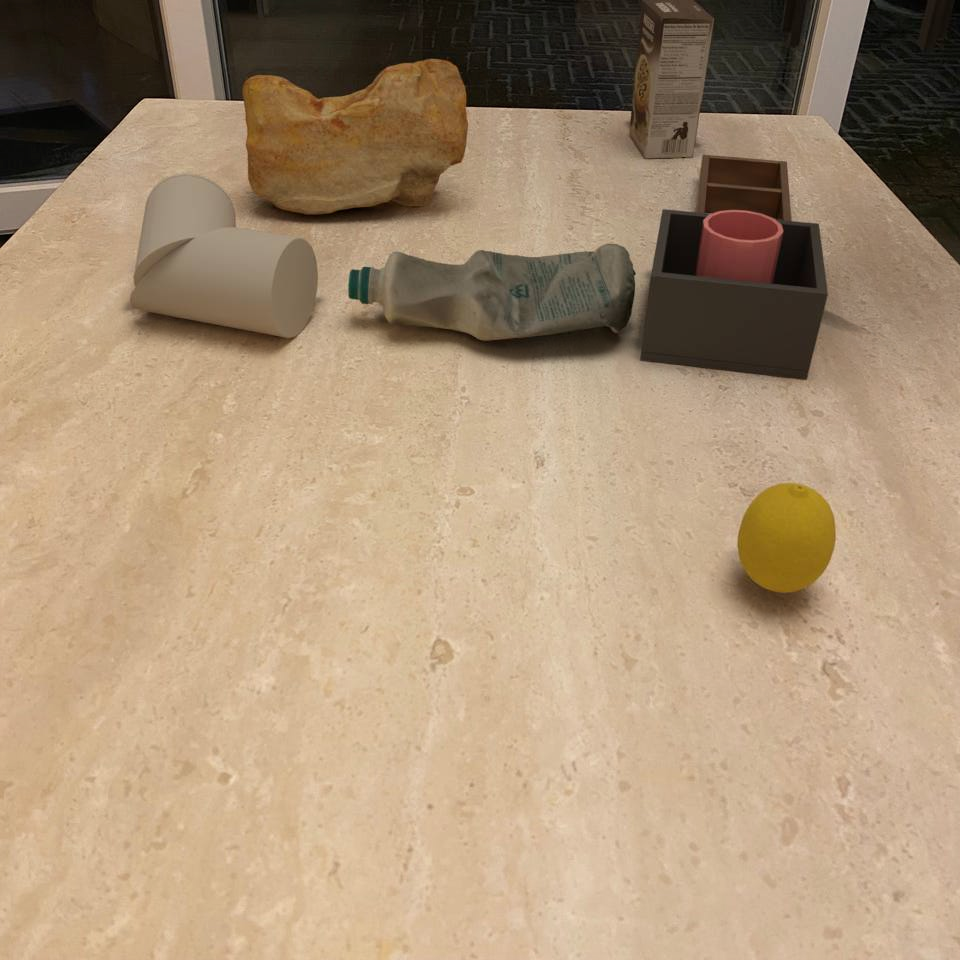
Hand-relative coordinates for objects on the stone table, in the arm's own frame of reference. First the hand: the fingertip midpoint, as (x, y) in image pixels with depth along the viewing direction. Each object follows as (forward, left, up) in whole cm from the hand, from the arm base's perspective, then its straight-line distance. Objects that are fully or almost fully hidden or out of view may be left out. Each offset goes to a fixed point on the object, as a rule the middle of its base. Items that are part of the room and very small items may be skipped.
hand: (858, 46), depth 76 cm
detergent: (+23, -16, -23) cm, 36 cm away
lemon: (+30, +21, -23) cm, 43 cm away
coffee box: (-22, -39, -23) cm, 50 cm away
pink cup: (+7, -2, -22) cm, 24 cm away
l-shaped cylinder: (+40, -35, -23) cm, 57 cm away
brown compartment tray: (-14, -19, -23) cm, 33 cm away
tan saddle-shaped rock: (+16, -48, -23) cm, 55 cm away
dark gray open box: (+7, -2, -23) cm, 24 cm away
